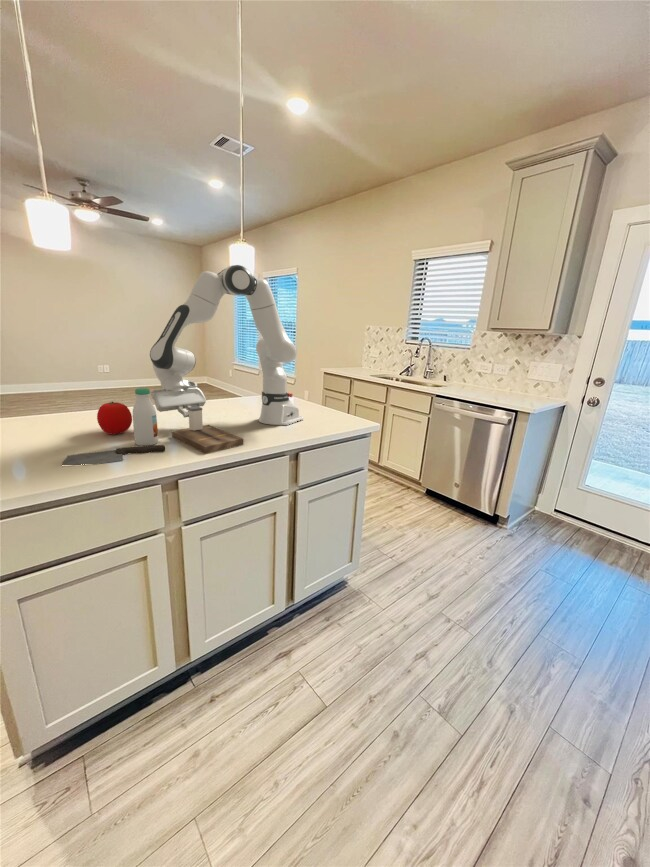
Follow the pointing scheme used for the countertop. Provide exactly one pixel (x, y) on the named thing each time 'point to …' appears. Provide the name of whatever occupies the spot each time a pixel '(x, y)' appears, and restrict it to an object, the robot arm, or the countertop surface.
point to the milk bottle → (144, 419)
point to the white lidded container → (195, 418)
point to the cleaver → (109, 455)
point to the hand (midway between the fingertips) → (188, 416)
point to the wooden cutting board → (207, 438)
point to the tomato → (114, 418)
